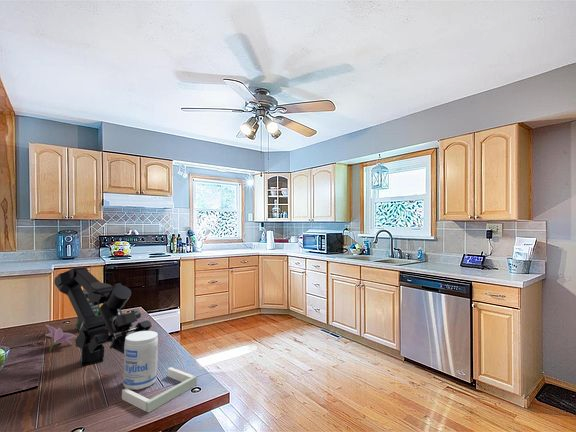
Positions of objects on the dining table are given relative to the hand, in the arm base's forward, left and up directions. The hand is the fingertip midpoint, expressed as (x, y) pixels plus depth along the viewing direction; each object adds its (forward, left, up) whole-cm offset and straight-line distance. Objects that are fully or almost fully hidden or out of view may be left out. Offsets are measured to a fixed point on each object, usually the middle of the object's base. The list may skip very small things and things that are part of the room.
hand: (132, 357), depth 98 cm
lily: (-15, +46, -7) cm, 49 cm away
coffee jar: (-3, +66, -7) cm, 66 cm away
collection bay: (+4, -14, -7) cm, 16 cm away
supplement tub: (+1, -4, -7) cm, 8 cm away
